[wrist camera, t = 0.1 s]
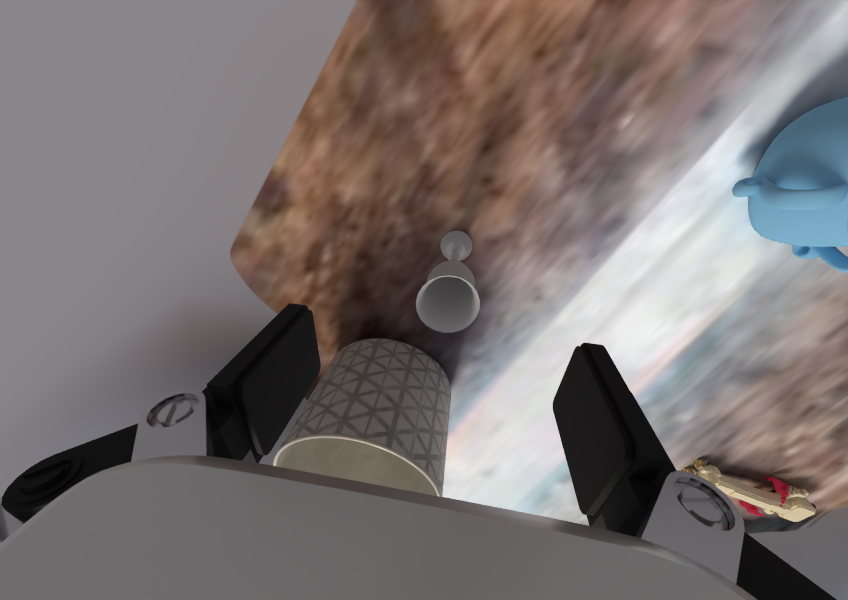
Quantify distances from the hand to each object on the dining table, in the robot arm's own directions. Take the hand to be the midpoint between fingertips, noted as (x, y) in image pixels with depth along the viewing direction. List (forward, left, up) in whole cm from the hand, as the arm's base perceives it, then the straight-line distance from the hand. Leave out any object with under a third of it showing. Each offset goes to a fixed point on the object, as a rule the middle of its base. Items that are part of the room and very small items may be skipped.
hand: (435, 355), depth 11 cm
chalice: (+8, -6, -38) cm, 39 cm away
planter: (+27, -31, -38) cm, 55 cm away
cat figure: (+84, +24, -38) cm, 95 cm away
